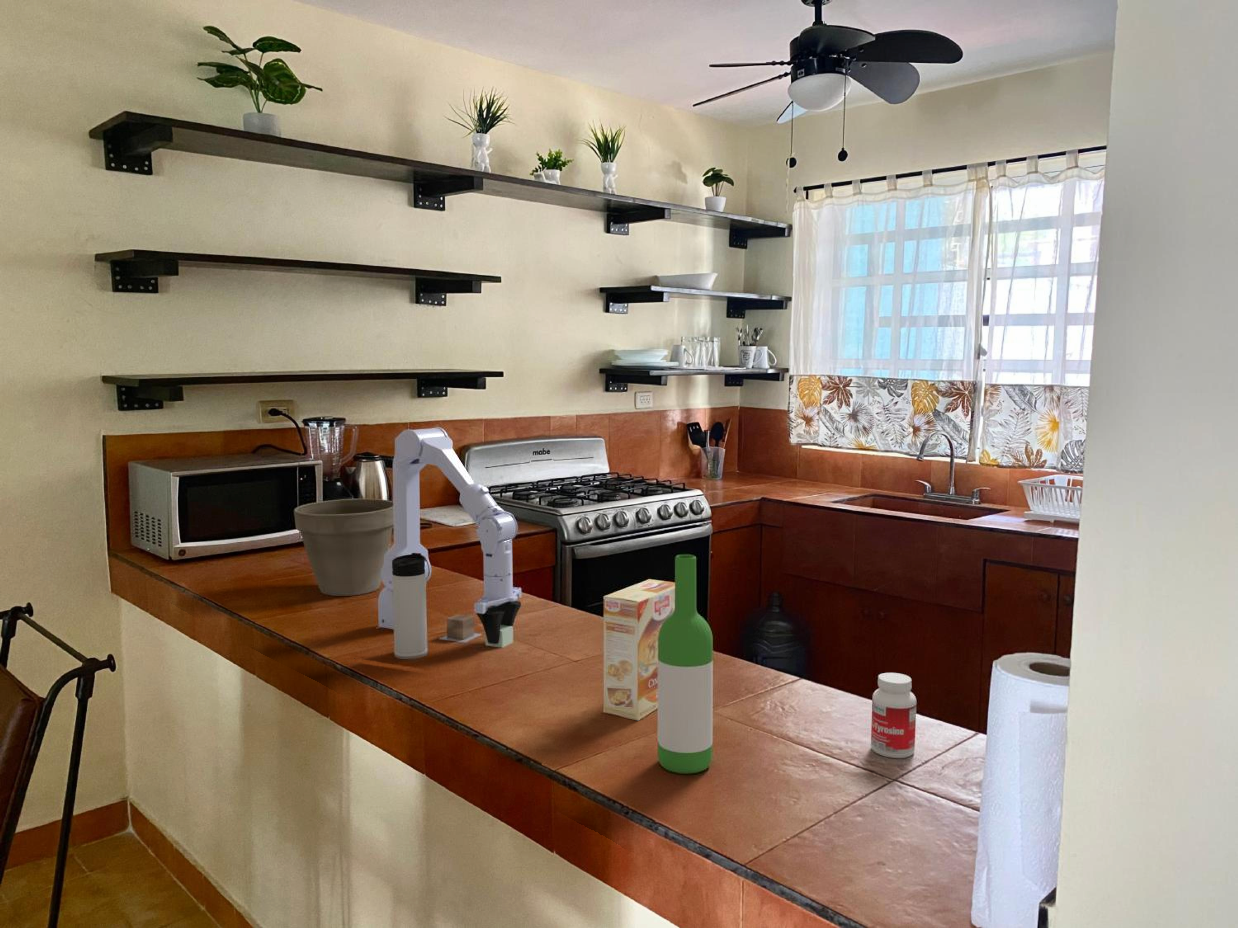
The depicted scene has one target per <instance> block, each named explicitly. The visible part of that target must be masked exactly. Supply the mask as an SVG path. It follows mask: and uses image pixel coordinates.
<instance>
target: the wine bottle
mask: <svg viewBox="0 0 1238 928" xmlns="http://www.w3.org/2000/svg"><path fill="white" fill-rule="evenodd" d="M674 583H675V610H674V613H673V614H672V615H670V616H669V617H668V618H667V619H666V620H665V621H664V623H663V624H662V626H661V628H660V631H659V636H658V708H657V759H658V762H659V763H660V766H662V768H663V769H666V770H667V771H669V772H672V773H675V774H683V775H684V774H685V775H686V774H687V775H688V774H696V773H700V772H703V771H704V770H706V769H707V768H709V766H710V765H711V764H712V761H713V744H714V743H713V738H714V736H713V735H714V734H713V728H714V726H713V724H714V723H713V722H714V721H713V717H714V716H713V715H714V712H713V711H714V710H713V709H714V706H713V703H714V702H713V699H714V698H713V697H714V695H713V694H714V693H713V692H714V689H713V687H714V684H713V683H714V678H713V675H714V674H713V673H714V672H713V671H714V657H713V654H714V652H713V651H714V647H713V646H714V643H713V641H714V638H713V633H712V630H711V627H710V625H709V623H708V622H707V620H705V618H704V617H703V616H701V615H700V613H698V611H697V557H696V556H695V555H694V554H689V553H688V554H687V553H684V554H677V555H676V556H675V557H674Z"/></svg>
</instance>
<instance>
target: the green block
mask: <svg viewBox="0 0 1238 928" xmlns="http://www.w3.org/2000/svg"><path fill="white" fill-rule="evenodd" d="M484 635H485V639H484V640H485V646H490V647H495V648H503V649H504V647H507V646H508V645H509V646H510V645H511V644H513V643H514V625H513V626H506V625H501V626H500V638H499V642H498V644H492V643H488V641H487V637H486V633H484Z"/></svg>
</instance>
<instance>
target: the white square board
mask: <svg viewBox="0 0 1238 928" xmlns="http://www.w3.org/2000/svg"><path fill="white" fill-rule="evenodd" d="M482 635H483V633H476V632H474V635H473V636H471V637H469V638H467V639H465V640H459V639H452V638H447V634H446V635H444V636H442V637H440V638H438V640H442V641H443V640H444V641H450V642H458V643H464V644H465V643H467V642H469V641H472V640H474V639H475V638H479V637H480V636H482Z"/></svg>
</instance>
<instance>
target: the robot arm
mask: <svg viewBox="0 0 1238 928" xmlns="http://www.w3.org/2000/svg"><path fill="white" fill-rule="evenodd" d="M453 444H454V443H453V440H452V438H451V437H449V435H448V433H447V432H446V430H445V429H444V428H442V427H439V426H436V427H435V426H434V427H431V428H419V429H409V428H408V429H404V430H403V431H402V432H401V433H399V434H398V435H397V436H396V437H395V438H394V457H393V459H392V497H393V498H392V501H393V523H394V525H393V544H391V545H392V546H390V548H388V551H387V552H386V553H385V555H384V563H383V566H382V569H381V579H382V580H381V583H383V586H384V588H382V589H381V591H380V592H379V594H378V599H377V612H378V613H377V614H378V616H377V617H378V626H377V627H376V629H378V628H385V629H391V630H394V621H393V588H392V578H393V577H392V571H393V569H392V560H393V559H395V558H396V557H399V556H403V555H411V554H412V553H421V555H422V556H424V557H425V568H424V569H425V579H426V582H428V581H429V579H430V578H431V575H432V565H431V563H430V560H429V550H428V549H427V548H426V547H425V546H423V545H422V543H421V520H420V519H421V515H420V514H421V513H420V511H421V510H420V509H421V505H420V502H421V501H420V500H421V499H420V493H421V492H420V472H421V470H422V469H424V467H425V466H427V465H431V466H436V467H438V469H440V471H441V473H443V474H444V476H445V477H446V478H447V479H448V481H450V482H451V484H452V485H453V487H455V489H456V490H457V491H458V492H459V493H460V494H459V502H460V503H459V504H460V505H462V507H463V508H464V510H465V512H467V514H468V515H469V517H470V518H471V520H472V521H473V522H474V524H476V526H477V529H476V530H475V531H476V537H477V539H478V540H479V542H480V545H481V551H482V554H483V591H484V592H483V595H482V597H480V599H479V600H478V601H476V602H474V603H473V607H474V609H473V610H474V611H473V612H474V613H475V614H476V615H477V617H478V619H479V620H480V622H481V624H482V627H483V630H484V632H485V633H486V637H487V641H488V643H492V644H498V642H499V638H500V626H501V625H506V626H513V627H514V624H515V620H516V617H517V614H518V612H519V610H520V609H521V607H522V602H521V601H518V599H520V598H522V588H521V587H515V586H514V585H513V584H514V582H513V580H514V579H513V576H514V575H513V539H515V538H516V536H517V535H518V530H519V529H518V528H519V526H518V522H517V520H516V518H515V516H514V514H513V513H511V512H508V511H505V510H504V509H503V508H501V506H499V505H498V503H497V502H496V501H495V500H494V498H493V497H492V496H491V494H490V493H489V492H490V490H489V488H487V486H484V485H483V484H480V483H475V482H474V481H473V479H472V477H471V475H470V474H469V472H468V471H467V469H466V468H465V466H464V465H463V463H462V462H461V460H460V459H459V457H458V455H457V454H456V452H455V450H454V448H453ZM485 633H484V634H485Z"/></svg>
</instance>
